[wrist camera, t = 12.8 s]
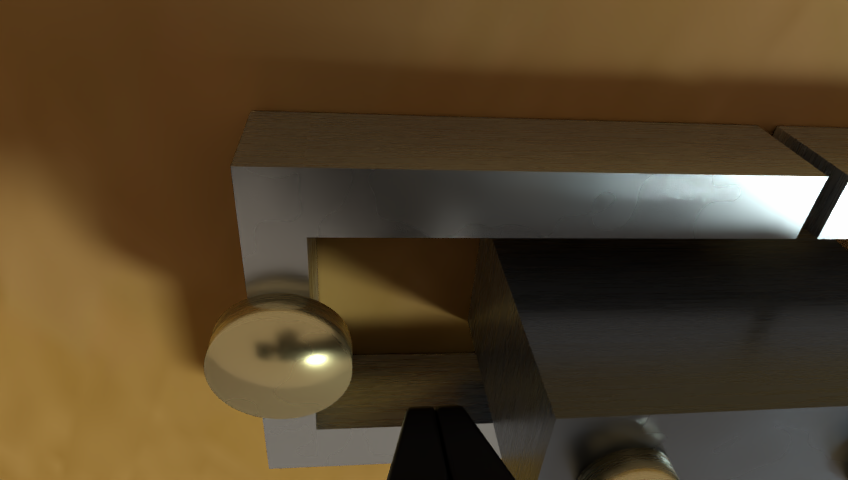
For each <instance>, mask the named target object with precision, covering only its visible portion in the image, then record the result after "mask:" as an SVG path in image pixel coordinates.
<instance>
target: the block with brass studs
mask: <svg viewBox="0 0 848 480" xmlns="http://www.w3.org/2000/svg"><path fill="white" fill-rule="evenodd" d="M468 324H469V328H470V332H471V336H472V340H473V344H474V348H475V352H476V356H477V361H478V365H479V369H480V373H481V377H482V381H483V385H484V389H485V393H486V397H487V401H488V405H489V409H490V413H491V417H492V421H493V425H494V429H495V433H496V438H497V442H498V446H499V450H500V454H501V458H502V461H503V463H504V464H505V466H506V467H507V468H508V470H509V471H510V473H511V474H512V475H513V477H514V478H515V479H516V480H848V250H847V249H845V248H844V247H843V246H842V245H841V244H839V243H838V242H837V241H836V240H835V239H817V238H815V237H814V236H813V235H812V234H811V233H810V232H809V231H808V230H806V229H805V228H804V227H803V226H802V228H801V230H800V232H799V234H798V236H797V238H796V239H655V238H480V243H479V250H478V256H477V263H476V270H475V276H474V283H473V290H472V296H471V303H470V310H469V316H468Z"/></svg>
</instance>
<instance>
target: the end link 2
mask: <svg viewBox="0 0 848 480" xmlns="http://www.w3.org/2000/svg"><path fill="white" fill-rule="evenodd" d="M773 137H774V138H775V139H777V140H778V141H780V142H781V143H782V144H784V145H785V146H786V147H788V148H789V149H791V150H792V151H793V152H795V153H796V154H797V155H799V156H800V157H802V158H803V159H804V160H806V161H807V162H809V163H810V164H811V165H813V166H814V167H815V168H817V169H818V170H820V171H821V172H822V173H824V174H825V175H826V176H828V178H827V180H826V182H825V184H824V186H823V188H822V189H821V191H820V193H819V195H818V197H817V199H816V201H815V203H814V205H813V207H812V209H811V211H810V213H809V215H808V216H807V218H806V220H805V222H804V224H803V227H804V228H805V229H806V230H808V231H809V232H810V233H811V234H812V235H813V236H814V237H815V238H817V239H848V128H831V127H796V126H777V127H776V129H775V132H774V134H773Z"/></svg>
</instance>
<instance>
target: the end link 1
mask: <svg viewBox="0 0 848 480" xmlns="http://www.w3.org/2000/svg"><path fill="white" fill-rule="evenodd" d="M231 174H232V182H233V190H234V197H235V205H236V213H237V221H238V229H239V236H240V244H241V252H242V260H243V268H244V276H245V283H246V291H247V299H245V300H243V301H241V302H239V303H237V304H235V305H233V306H232V307H231V308H229V309H228V310H227V311H226V312H225V313H224V314H222V315H221V317H220V318H219V319H218V321H217V322H216V324H215V326H214V329H213V332H212V336H211V339H210V343H209V346H208V350H207V353H206V357H205V360H204V373H205V377H206V380H207V382H208V384H209V386H210V388H211V389H212V391H213V392H214V393H215V394H216V395H217V396H218V397H219V398H220V399H221V400H222V401H223V402H225V403H226V404H228V405H229V406H231V407H232V408H235V409H237V410H239V411H241V412H244V413H246V414H249V415H253V416H257V417H262V418H263V424H264V432H265V440H266V448H267V456H268V463H269V469H273V468H296V467H318V466H341V465H364V464H387V463H392V460H393V456H394V453H395V449H396V445H397V442H398V438H399V435H400V431H401V428H402V424H403V420H404V417H405V413H406V411H407V409H408V408H409V407H414V406H432V407H433V408H434V410H435V408H436V407H437V406H440V405H460V406H462V407H463V408H464V409H465V410H466V411H467V413H468V414H469V415H470V417H471V418H472V420H473V421H474V422H475V424H476V425H477V427H478V428H479V429H480V431H481V432H482V433H483V435H484V436H485V438H486V439H487V440H488V442H489V443H490V445H491V446H492V447H493V449H494V450H495V452H496V453H497V454H498V456H499V457H500V459H501V454H500V450H499V446H498V442H497V438H496V433H495V429H494V425H493V421H492V417H491V413H490V409H489V405H488V401H487V397H486V393H485V389H484V385H483V381H482V377H481V373H480V369H479V365H478V361H477V356H476V353H435V354H388V355H352V337H351V334H350V331H349V329H348V327H347V325H346V323H345V322H344V321H343V319H342V318H341V317H340V316H339V315H338V314H337V313H336V312H335V311H333V310H332V309H331V308H329V307H328V306H326V305H325V304H323V303H321V302H319V295H318V269H317V243H316V237H323V238H655V239H796V238H797V236H798V234H799V232H800V230H801V228H802V226H803V224H804V222H805V220H806V218H807V216H808V215H809V213H810V211H811V209H812V207H813V205H814V203H815V201H816V199H817V197H818V195H819V193H820V191H821V189H822V188H823V186H824V184H825V182H826V180H827V178H828V176H826V175H825V174H824V173H822V172H821V171H820V170H818V169H817V168H815V167H814V166H813V165H811V164H810V163H809V162H807V161H806V160H804V159H803V158H802V157H800V156H799V155H797V154H796V153H795V152H793V151H792V150H791V149H789V148H788V147H786V146H785V145H784V144H782V143H781V142H780V141H778V140H777V139H775V138H774V137H773V136H771V135H770V134H768V133H767V132H766V131H764V130H763V129H762V128H760V127H759V126H757V125H726V124H691V123H656V122H621V121H586V120H551V119H516V118H481V117H446V116H411V115H376V114H341V113H306V112H271V111H251V112H250V115H249V117H248V120H247V123H246V126H245V128H244V131H243V134H242V136H241V139H240V142H239V145H238V147H237V150H236V153H235V156H234V158H233V161H232V164H231Z"/></svg>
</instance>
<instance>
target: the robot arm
mask: <svg viewBox="0 0 848 480" xmlns="http://www.w3.org/2000/svg"><path fill="white" fill-rule="evenodd" d="M387 480H516V479H515V478H514V477H513V475H512V474H511V473H510V471H509V470H508V468H507V467H506V466H505V464H504V463H503V461H502V460H501V459H500V457H499V456H498V454H497V453H496V452H495V450H494V449H493V447H492V446H491V445H490V443H489V442H488V440H487V439H486V438H485V436H484V435H483V433H482V432H481V431H480V429H479V428H478V427H477V425H476V424H475V422H474V421H473V420H472V418H471V417H470V415H469V414H468V413H467V411H466V410H465V409H464V408H463V407H462V406H460V405H440V406H437V407H436V408H435V410H434V408H433V407H432V406H414V407H409V408H408V409H407V411H406V413H405V417H404V420H403V424H402V428H401V431H400V435H399V438H398V442H397V445H396V449H395V453H394V456H393V460H392V463H391V467H390V470H389V474H388V477H387Z"/></svg>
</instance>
